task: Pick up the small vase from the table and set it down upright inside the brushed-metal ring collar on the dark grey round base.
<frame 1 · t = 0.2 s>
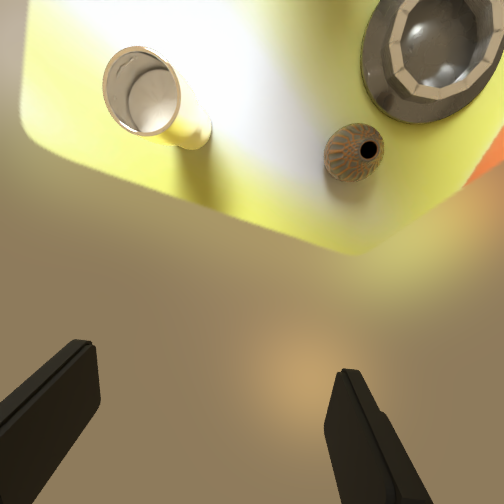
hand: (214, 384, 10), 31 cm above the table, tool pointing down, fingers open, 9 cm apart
beer glass: (190, 127, 35), on the table
vase: (343, 156, 36), on the table
ring seat: (429, 49, 31), on the table
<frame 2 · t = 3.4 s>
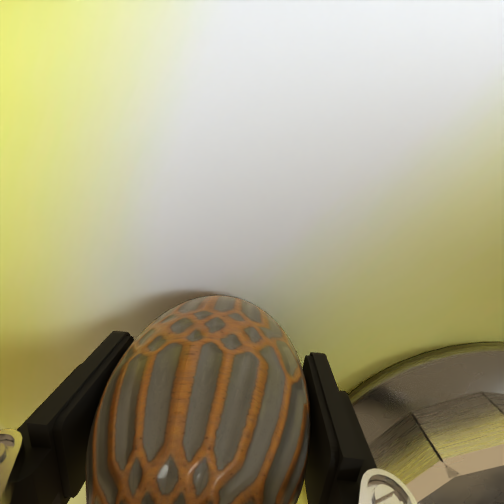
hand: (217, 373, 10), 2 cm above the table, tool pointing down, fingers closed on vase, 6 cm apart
vase: (225, 335, 13), on the table, touching gripper
ring seat: (457, 467, 14), on the table
when the fingers open (5 cm above the table, at t = 9.5 s): vase drops 1 cm, resting on ring seat.
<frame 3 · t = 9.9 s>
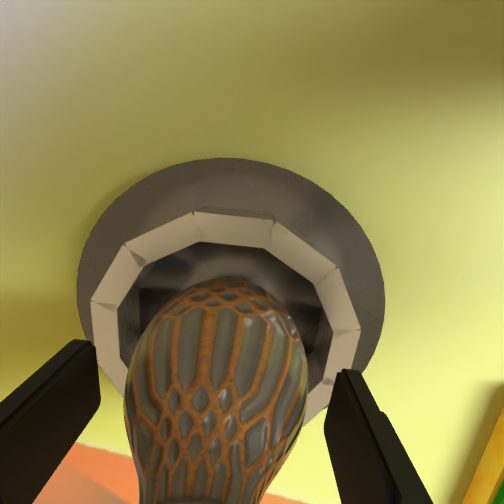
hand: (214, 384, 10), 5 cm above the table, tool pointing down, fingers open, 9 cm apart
vase: (230, 317, 14), point 1 cm above the table, touching ring seat
ring seat: (230, 312, 15), on the table
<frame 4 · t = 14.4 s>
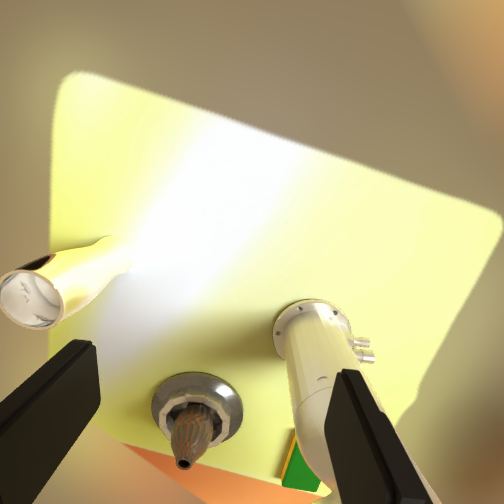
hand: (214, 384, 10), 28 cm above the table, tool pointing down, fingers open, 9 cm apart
beer glass: (116, 254, 39), on the table
dish sponge: (305, 451, 50), on the table
vase: (197, 411, 46), point 1 cm above the table, touching ring seat
ring seat: (198, 408, 47), on the table
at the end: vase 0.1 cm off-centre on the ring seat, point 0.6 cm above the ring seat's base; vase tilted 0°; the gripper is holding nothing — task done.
